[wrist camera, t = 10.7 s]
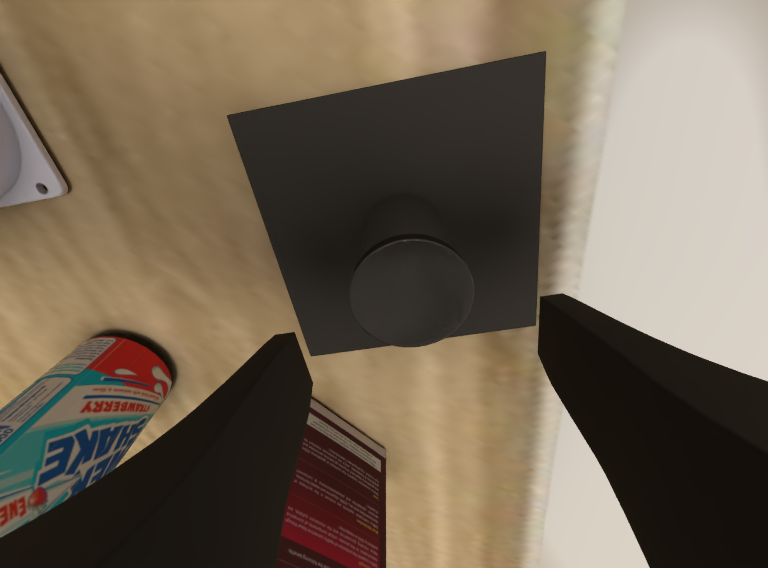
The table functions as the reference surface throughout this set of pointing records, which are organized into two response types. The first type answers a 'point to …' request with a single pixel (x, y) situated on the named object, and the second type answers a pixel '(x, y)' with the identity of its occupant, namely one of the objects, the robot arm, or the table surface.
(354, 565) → the supplement box
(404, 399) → the table surface
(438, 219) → the spice tin
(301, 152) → the mat
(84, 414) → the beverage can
